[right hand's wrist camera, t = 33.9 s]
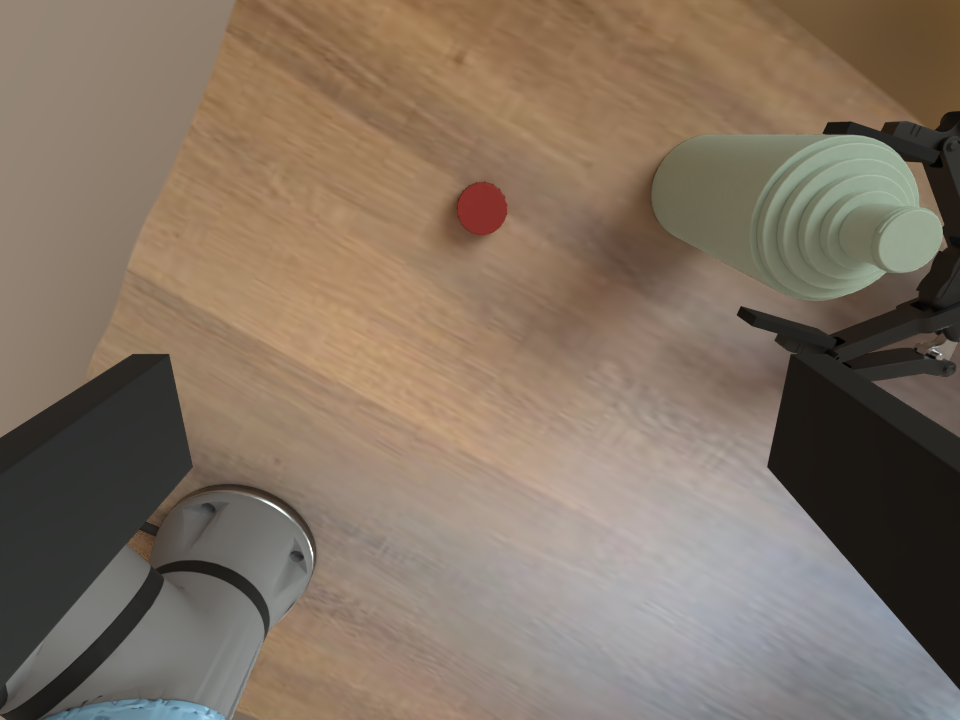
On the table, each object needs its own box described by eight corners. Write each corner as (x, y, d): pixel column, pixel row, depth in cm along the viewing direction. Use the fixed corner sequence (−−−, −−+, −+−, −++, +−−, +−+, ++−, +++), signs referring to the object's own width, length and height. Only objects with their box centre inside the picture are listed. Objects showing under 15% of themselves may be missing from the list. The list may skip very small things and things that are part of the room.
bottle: (775, 161, 45) (1061, 188, 23) (719, 257, 48) (925, 363, 26) (684, 116, 44) (893, 98, 22) (632, 216, 46) (769, 292, 24)
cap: (481, 170, 45) (481, 171, 43) (516, 206, 46) (518, 209, 44) (447, 207, 46) (446, 210, 44) (482, 241, 47) (482, 245, 45)
